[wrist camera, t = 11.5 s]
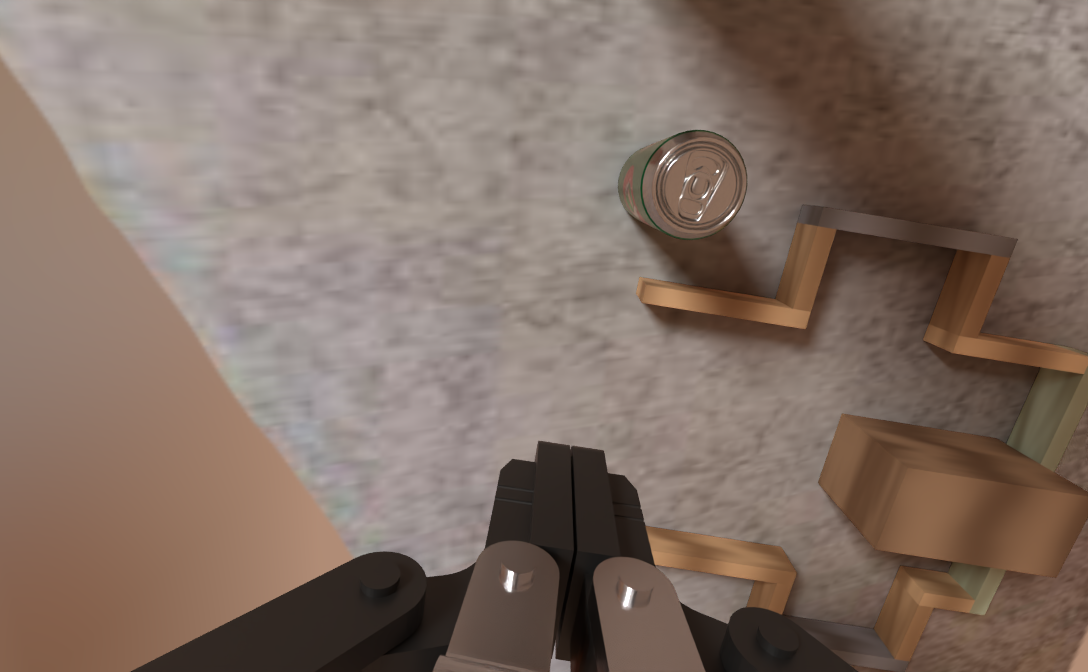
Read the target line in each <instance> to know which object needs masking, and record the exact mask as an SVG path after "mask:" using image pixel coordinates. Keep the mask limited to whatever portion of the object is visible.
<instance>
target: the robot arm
mask: <svg viewBox="0 0 1088 672" xmlns="http://www.w3.org/2000/svg"><path fill="white" fill-rule="evenodd" d="M640 507H641V505H640V501H639V497H638V493H637V490H636V489H635V488H634V486H633V485H632V484H631V483H630V482H629V481H628V479H627V478H626V477H625V476H623V475H617V474H610V473H608V472H607V466H606V460H605V454H604V451H603V450H598V449H591V448H584V447H578V446H572V447H571V450H570V445H564V444H557V443H551V442H544V441H538V445H537V450H536V456H535V462H530V461H523V460H516V459H512V460H511V461H510V462H509V463H508V464H507V465H505V466H504V467H503V468H502V469H501V471H500V476H499V481H498V486H497V491H496V496H495V501H494V506H493V511H492V516H491V521H490V526H489V531H488V536H487V540H486V545H485V549H484V551H482V553H481V554H480V555H479V557H478V559H477V561H476V562H475V563H474V564H473V565H472V566H470V567H468V568H467V569H465V570H462V571H460V572H457V573H453V574H449V575H443V576H434V577H426V575H425V572H424V570H423V569H422V567H421V566H420V565H419V564H418V563H417V562H416V561H415V560H413V559H412V558H410V557H408V556H406V555H403V554H400V553H395V552H374V553H369V554H365V555H362V556H359V557H357V558H355V559H353V560H351V561H349V562H347V563H345V564H343V565H341V566H339V567H337V568H335V569H333V570H331V571H329V572H327V573H325V574H323V575H321V576H319V577H317V578H315V579H313V580H311V581H309V582H307V583H305V584H303V585H301V586H299V587H297V588H295V589H293V590H291V591H289V592H287V593H285V594H283V595H281V596H279V597H277V598H275V599H273V600H271V601H269V602H268V603H265V604H264V605H261V606H260V607H258V608H256V609H254V610H252V611H250V612H248V613H246V614H244V615H242V616H240V617H238V618H236V619H234V620H232V621H230V622H228V623H226V624H224V625H222V626H220V627H218V628H216V629H214V630H212V631H210V632H208V633H206V634H204V635H202V636H200V637H198V638H196V639H194V640H192V641H190V642H188V643H186V644H185V645H182V646H180V647H178V648H176V649H175V650H172V651H170V652H169V653H166V654H165V655H163V656H161V657H159V658H157V659H155V660H153V661H151V662H149V663H147V664H145V665H143V666H141V667H139V668H137V669H135V670H133V671H131V672H550V663H551V659H552V655H553V650H554V645H555V640H556V659H559V660H566V661H570V662H571V672H858V671H857V670H856V669H854V668H853V667H852V666H850V665H849V664H848V663H846V662H845V661H844V660H843V659H841V658H840V657H839V656H837V655H836V654H835V653H834V652H832V651H831V650H830V649H828V648H827V647H826V646H825V645H823V644H822V643H821V642H819V641H818V640H817V639H816V638H814V637H813V636H812V635H810V634H809V633H808V632H806V631H805V630H804V629H803V628H801V627H800V626H799V625H797V624H796V623H794V622H793V621H792V620H790V619H788V618H787V617H785V616H783V615H781V614H779V613H777V612H774V611H771V610H768V609H764V608H759V607H746V608H741V609H739V610H737V611H736V612H735V613H733V614H732V616H731V618H730V620H729V623H728V624H726V623H724V622H721V621H719V620H716V619H714V618H711V617H709V616H706V615H704V614H701V613H699V612H697V611H695V610H693V609H691V608H689V607H687V606H685V605H684V604H682V603H681V602H680V601H679V599H678V596H677V593H676V591H675V589H674V586H673V584H672V583H671V582H670V580H669V579H668V578H667V577H666V576H665V574H663V573H662V572H661V571H660V570H659V569H657V568H656V567H655V563H654V559H653V555H652V551H651V547H650V542H649V538H648V534H647V530H646V526H645V522H644V518H643V514H642V509H640Z"/></svg>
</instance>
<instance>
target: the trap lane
mask: <svg viewBox="0 0 1088 672" xmlns="http://www.w3.org/2000/svg"><path fill="white" fill-rule="evenodd" d="M837 229H838V230H844V231H850V232H856V233H862V234H868V235H874V236H880V237H886V238H892V239H898V240H904V241H910V242H916V243H922V244H928V245H934V246H940V247H946V248H953V249H957V252H956V254H955V257H954V260H953V262H952V265H951V267H950V270H949V273H948V275H947V278H946V281H945V283H944V286H943V288H942V291H941V294H940V296H939V299H938V302H937V304H936V307H935V310H934V312H933V315H932V317H931V320H930V323H929V325H928V328H927V331H926V333H925V336H924V339H923V340H924V341H926V342H929V343H931V344H933V345H935V346H938V347H940V348H942V349H945V350H947V351H949V352H951V353H956V354H962V355H968V356H974V357H980V358H987V359H993V360H999V361H1005V362H1011V363H1017V364H1024V365H1030V366H1036V367H1041V368H1040V370H1039V373H1038V375H1037V377H1036V379H1035V381H1034V384H1033V386H1032V388H1031V390H1030V392H1029V395H1028V397H1027V399H1026V401H1025V403H1024V406H1023V408H1022V410H1021V412H1020V414H1019V417H1018V419H1017V421H1016V423H1015V426H1014V428H1013V430H1012V432H1011V434H1010V437H1009V439H1008V441H1007V443H1006V444H1007V445H1009V446H1011V447H1012V448H1014V449H1016V450H1017V451H1019V452H1021V453H1022V454H1024V455H1026V456H1027V457H1029V458H1031V459H1033V460H1034V461H1036V462H1038V463H1039V464H1041V465H1043V466H1044V467H1046V468H1048V469H1050V470H1051V471H1053V472H1055V470H1056V468H1057V466H1058V464H1059V462H1060V460H1061V458H1062V456H1063V454H1064V452H1065V450H1066V448H1067V446H1068V443H1069V441H1070V439H1071V437H1072V435H1073V433H1074V431H1075V429H1076V427H1077V425H1078V423H1079V421H1080V419H1081V417H1082V415H1083V413H1084V411H1085V409H1086V407H1087V405H1088V353H1085V352H1082V351H1079V350H1076V349H1073V348H1070V347H1066V346H1060V345H1054V344H1048V343H1042V342H1036V341H1029V340H1023V339H1017V338H1011V337H1005V336H999V335H993V334H986V333H980V330H981V328H982V326H983V323H984V321H985V318H986V316H987V313H988V311H989V308H990V306H991V304H992V301H993V299H994V296H995V294H996V291H997V289H998V286H999V284H1000V282H1001V279H1002V277H1003V274H1004V272H1005V269H1006V267H1007V265H1008V262H1009V260H1010V257H1011V255H1012V252H1013V250H1014V247H1015V245H1016V243H1017V240H1018V239H1015V238H1009V237H1003V236H997V235H991V234H984V233H978V232H972V231H966V230H960V229H954V228H948V227H942V226H936V225H930V224H924V223H918V222H912V221H906V220H900V219H894V218H888V217H882V216H876V215H870V214H864V213H858V212H852V211H846V210H840V209H834V208H828V207H820V206H810V205H802V208H801V212H800V215H799V219H798V222H797V226H796V229H795V233H794V236H793V240H792V243H791V246H790V250H789V253H788V257H787V260H786V264H785V267H784V271H783V274H782V278H781V281H780V284H779V288H778V291H777V295H776V298H775V299H771V298H765V297H759V296H753V295H747V294H741V293H735V292H728V291H722V290H716V289H710V288H704V287H698V286H691V285H685V284H679V283H673V282H667V281H661V280H655V279H648V278H642V277H639V282H638V287H637V291H636V294H637V296H638V297H639V299H640V300H641V302H642V303H647V304H653V305H659V306H665V307H672V308H678V309H684V310H690V311H696V312H702V313H709V314H715V315H721V316H727V317H733V318H740V319H746V320H752V321H758V322H764V323H770V324H777V325H783V326H789V327H795V328H801V329H806V326H807V323H808V320H809V316H810V313H811V310H812V307H813V304H814V300H815V297H816V294H817V291H818V288H819V284H820V281H821V278H822V275H823V272H824V268H825V265H826V262H827V259H828V255H829V252H830V249H831V246H832V243H833V239H834V236H835V233H836V230H837ZM646 530H647V534H648V538H649V542H650V547H651V551H652V555H653V559H654V563H655V565H661V566H667V567H674V568H680V569H687V570H693V571H700V572H706V573H713V574H719V575H726V576H732V577H739V578H745V579H752V580H755V582H754V585H753V588H752V591H751V594H750V597H749V600H748V603H747V606H746V607H759V608H764V609H768V610H771V611H774V612H777V613H779V614H781V615H782V613H783V611H784V608H785V605H786V602H787V599H788V596H789V594H790V591H791V588H792V585H793V582H794V580H795V577H796V574H797V572H796V571H795V569H794V567H793V566H792V564H791V563H790V561H789V559H788V558H787V556H786V554H785V553H784V551H783V549H782V548H781V547H778V546H772V545H765V544H759V543H752V542H746V541H739V540H733V539H726V538H720V537H714V536H707V535H701V534H694V533H688V532H681V531H675V530H668V529H662V528H655V527H649V526H646ZM1005 572H1006V570H1003V569H997V568H990V567H984V566H978V565H971V564H965V563H958V562H952V565H951V567H950V569H949V571H948V573H946V572H939V571H933V570H926V569H920V568H913V567H907V566H900V567H899V570H898V572H897V575H896V577H895V579H894V582H893V584H892V586H891V589H890V591H889V594H888V596H887V598H886V601H885V603H884V605H883V608H882V610H881V613H880V615H879V617H878V620H877V622H876V624H875V627H874V629H871V628H865V627H858V626H851V625H845V624H838V623H832V622H825V621H819V620H812V619H806V618H799V617H793V616H786V615H783V616H785V617H787V618H788V619H790V620H792V621H793V622H794V623H796V624H797V625H799V626H800V627H801V628H803V629H804V630H805V631H806V632H808V633H809V634H810V635H812V636H813V637H814V638H816V639H817V640H818V641H819V642H821V643H822V644H823V645H825V646H826V647H827V648H828V649H830V650H831V651H832V652H834V653H835V654H836V655H837V656H839V657H840V658H841V659H843V660H844V661H845V662H846V663H848V664H849V665H856V666H862V667H869V668H875V669H882V670H889V671H895V672H905V670H906V668H907V666H908V663H909V661H910V659H911V657H912V655H913V652H914V650H915V648H916V646H917V644H918V641H919V639H920V637H921V635H922V633H923V630H924V628H925V626H926V624H927V622H928V619H929V617H930V615H931V613H932V611H933V608H940V609H946V610H953V611H959V612H966V613H972V614H979V615H985V613H986V611H987V609H988V607H989V604H990V602H991V600H992V598H993V596H994V594H995V592H996V590H997V588H998V586H999V584H1000V582H1001V580H1002V578H1003V576H1004V574H1005Z"/></svg>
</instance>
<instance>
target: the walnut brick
mask: <svg viewBox="0 0 1088 672" xmlns="http://www.w3.org/2000/svg"><path fill="white" fill-rule="evenodd" d="M818 483H819V484H820V486H821V487H822V488H823V489H824V490H825V491H826V493H827V494H828V495H829V496H830V497H831V498H832V500H833V501H834V502H835V503H836V504H837V505H838V507H839V508H840V509H841V510H842V511H843V512H844V514H845V515H846V516H847V517H848V518H849V519H850V521H851V522H852V523H853V524H854V525H855V526H856V528H857V529H858V530H859V531H860V532H861V533H862V535H863V536H864V537H865V538H866V539H867V541H868V542H869V543H870V544H871V545H872V546H873V548H874V549H875V550H882V551H888V552H894V553H901V554H907V555H914V556H920V557H926V558H933V559H939V560H946V561H952V562H958V563H965V564H971V565H978V566H984V567H990V568H997V569H1003V570H1010V571H1016V572H1022V573H1029V574H1035V575H1042V576H1048V577H1054V578H1056V577H1057V575H1058V573H1059V572H1060V570H1061V568H1062V566H1063V564H1064V562H1065V560H1066V558H1067V556H1068V554H1069V552H1070V551H1071V549H1072V547H1073V545H1074V543H1075V541H1076V539H1077V537H1078V535H1079V533H1080V532H1081V530H1082V528H1083V526H1084V524H1085V522H1086V520H1087V518H1088V492H1087V491H1085V490H1083V489H1082V488H1080V487H1078V486H1077V485H1075V484H1073V483H1072V482H1070V481H1068V480H1066V479H1065V478H1063V477H1061V476H1060V475H1058V474H1056V473H1055V472H1053V471H1051V470H1050V469H1048V468H1046V467H1044V466H1043V465H1041V464H1039V463H1038V462H1036V461H1034V460H1033V459H1031V458H1029V457H1027V456H1026V455H1024V454H1022V453H1021V452H1019V451H1017V450H1016V449H1014V448H1012V447H1011V446H1009V445H1007V444H1005V443H1004V442H1002V441H1000V440H999V439H997V438H991V437H985V436H979V435H973V434H966V433H960V432H954V431H948V430H941V429H935V428H929V427H923V426H916V425H910V424H904V423H898V422H891V421H885V420H879V419H873V418H866V417H860V416H854V415H848V414H842V415H841V418H840V421H839V424H838V427H837V429H836V432H835V435H834V438H833V441H832V444H831V447H830V450H829V452H828V455H827V458H826V461H825V464H824V467H823V470H822V472H821V475H820V478H819V481H818Z"/></svg>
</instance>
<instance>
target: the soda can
mask: <svg viewBox="0 0 1088 672" xmlns="http://www.w3.org/2000/svg"><path fill="white" fill-rule="evenodd" d="M746 190H747V172H746V167H745V164H744V161H743V158H742V156H741V154H740V153H739V151H738V150H737V149H736V147H735V146H734V145H733V144H732V143H731V142H730V141H729V140H727V139H726V138H724V137H723V136H721V135H719V134H716V133H714V132H710V131H706V130H691V131H685V132H682V133H679V134H676V135H674V136H671V137H669V138H666V139H664V140H661V141H659V142H656V143H654V144H651V145H649V146H646V147H644V148H642V149H639V150H638V151H636V152H635V153H634V154H633V155H632V156H630V157H629V159H628V160H627V161H626V162H625V164H624V166H623V167H622V170H621V172H620V175H619V180H618V193H619V197H620V200H621V203H622V205H623V206H624V208H625V209H626V211H627V212H628V213H629V214H630V215H631V216H633V217H634V218H636V219H637V220H639V221H641V222H643V223H645V224H647V225H649V226H651V227H653V228H655V229H657V230H659V231H661V232H663V233H665V234H667V235H669V236H672V237H674V238H678V239H683V240H695V239H701V238H705V237H708V236H711V235H713V234H715V233H717V232H718V231H720V230H722V229H723V228H724V227H725V226H727V225H728V224H729V223H730V222H731V221H732V220H733V218H734V217H735V216H736V214H737V213H738V211H739V210H740V208H741V206H742V204H743V201H744V198H745V195H746Z"/></svg>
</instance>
